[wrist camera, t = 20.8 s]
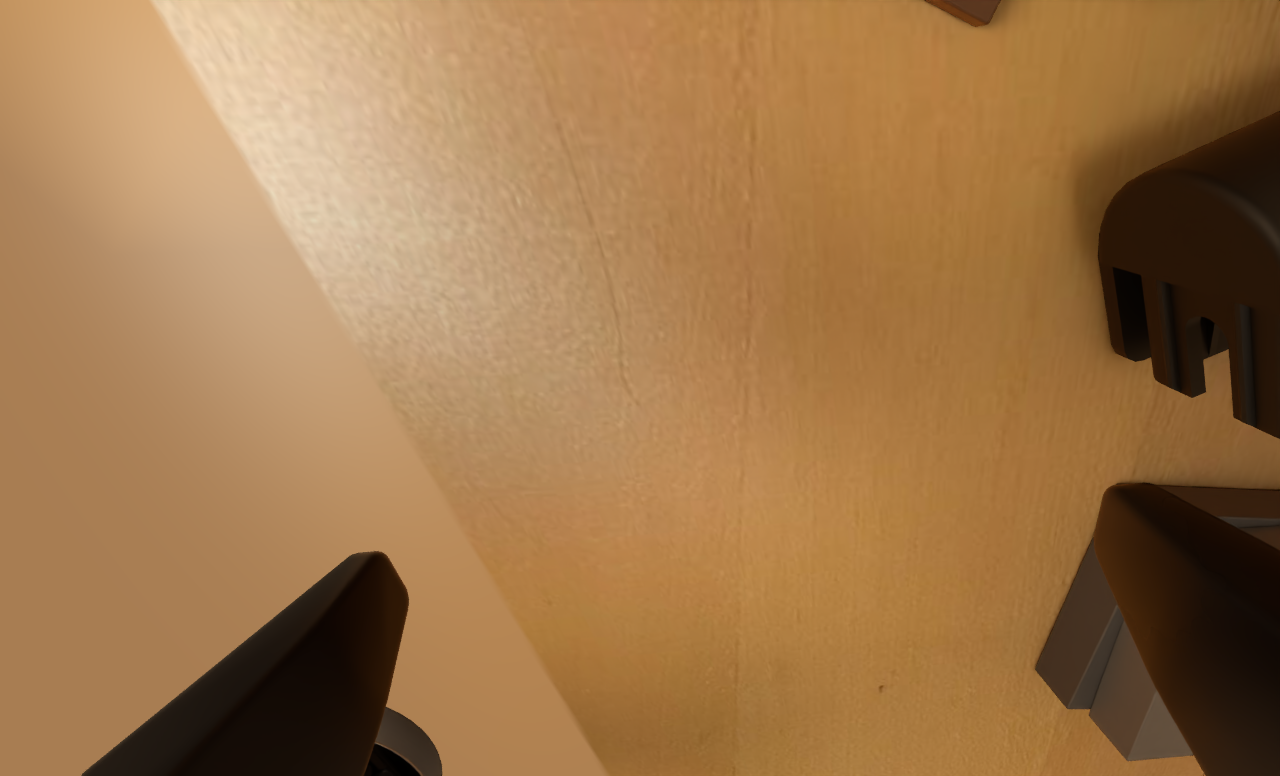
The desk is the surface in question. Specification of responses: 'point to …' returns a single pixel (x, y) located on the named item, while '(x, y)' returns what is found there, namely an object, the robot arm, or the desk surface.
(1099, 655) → the grey books
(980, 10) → the book rack
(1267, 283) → the end cap
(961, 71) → the desk surface
